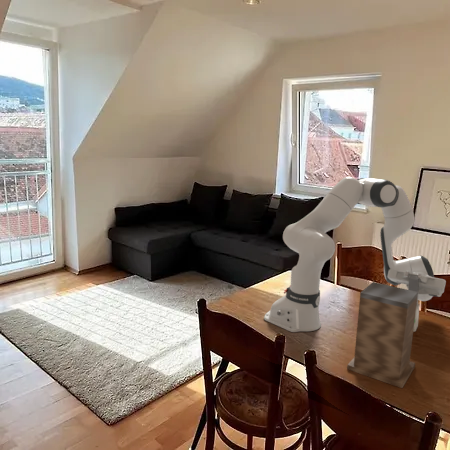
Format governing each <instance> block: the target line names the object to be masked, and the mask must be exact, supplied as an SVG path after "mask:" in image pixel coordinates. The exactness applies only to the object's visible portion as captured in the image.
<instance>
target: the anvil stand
mask: <svg viewBox="0 0 450 450" xmlns="http://www.w3.org/2000/svg"><path fill="white" fill-rule="evenodd" d="M417 297H418V292H416V291H411V290H408V288H406V289H405V288H402V287H399V286H398V287H397V286H394V285H393V286H392V285H389V284H383V283H379V282H376V281H375V282H374V281H372V282H371V283H370V284H369V285H368V286H366V287H365V288H364V289H363V290H361V292H360V295H359V303H358V306H359V307H358V314H357V324H356V325H357V326H356V337H355V347H354V357H353V358H352V359H351V360H350V361H349V363H348V364H347V367H346V369H347V370H349V371H352V372H354V373H357V374H360V375H363V376H366V377H369V378H371V379H375V380H378V381H380V382H383V383H386V384H388V385H389V384H390V385H391V386H395V387H398V388H401V389H403V388H404V386H405V385H406V382H407V381H408V379H409V378H410V377H411V374H412V372H413V371H414V369H415V368H416V362H414V361H411V352H412V344H413V336H414V335H413V334H414V331H413V329H414V321H415V313H416V305H417Z"/></svg>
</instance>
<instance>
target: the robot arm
mask: <svg viewBox="0 0 450 450" xmlns="http://www.w3.org/2000/svg"><path fill="white" fill-rule="evenodd" d="M357 205H363V206H366V207H372V208H373V207H374V208H380V209H381V211H382V214H383V218H384V225H383V226H382V227H381V229H380V235H379V236H380V245H381V251H382V260H383V274H384V278H385V280H386V282H387V283H388V284H390V285H391V286H392V285H393V286H394V287H397V286H398V285H399V286H400V285H406V289H407V290H408V289H409V278H410V276H411V275H412V276H417V277H418V280H419V291H418V301H421V302H426V301H430V300H432V298H433V297H438V298H439V297H442V294H443V293H444V292H445V288H446V283H447V281H446V279H443V278H438V277H435V275H434V271H433V267H432V265H431V263H430V261H429V259H428V258H426V257H425V256H423V255H416V256H412V257H408V258H404V259H399V260H394V255H393V247H392V245H393V243H394V242H395V241H396V240H398V238H400V237H402V236H403V235H405V234H406V233H407V232H409V231H410V230H411V229H412V227H413V226H414V223H415V213H414V209H413V207H412V204H411V202H410V199H409V197H408V195H407V192H406V191H405V190H404V188H403V187H402V186H400V185H395V184H394V182H393V181H391V180H388V179H380V178H375V177H361V178H360V177H359V178H355V177H352V176H345V177H343V178H341V180H339V181H338V182H337V183H336V184H335V185H334V186H333V187H332V188H331V189H330V190H329V191H328V193H326V195H325V196H324V198H323V199H322V200H321V201H320V202H319V203H318V205H317V206H316V207H315V208H314V209H313V210H312V211H311V212H309V213H308V214H307V215H305V216H304V217H303V218H301V219H299V220H298V221H297V222H295V223H292V224H289V225H287V226H286V227H285V229H284V231H283V234H282V240H283V242H284V245H286V246H287V248H289V249H290V250H292V251H293V252H295V253H296V254H298V255H299V256H298V261H297V264H296V265H294V266H293V267H292V269H291V270H290V272H291V273H290V285H289V287H286V288H285V289H284V290H283V291H284V292H283V293H284V294H285V295H284V296H282V297H280V298H278V299H277V300H276V301H274V302H273V303H272V304H271V307H270V310H269V311H267V312H266V313H265V314H264V317H263V319H264V321H266V322H269V324H272V325H275V326H277V327H278V328H282V329H284V330H286V331H288V332H291V333H298V332H312V331H317V330H318V329H320V328H321V327H322V323H321V319H320V311H319V309H320V308H319V306H320V301H321V290H320V284H321V283H320V282H321V273H322V269H323V267H324V265H325V263H326V262H327V261H329V260H330V259H331V258H332V257H333V255H334V254H335V251H336V243H335V241H334V239H333V238H332V237H331V236H329V235H328V234H327V232H330V231H331V230H335V229H337V228H338V227H340V226H341V224H343V221H345V219H346V218H347V217H348V215H349V214H350V213H351V212H352V210H353V209H354V207H355V206H357Z"/></svg>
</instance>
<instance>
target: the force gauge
mask: <svg viewBox="0 0 450 450" xmlns="http://www.w3.org/2000/svg"><path fill="white" fill-rule="evenodd" d="M407 290H411V291H416V292H418V291H419V280H418V277H417V276H412V275H411V276H410V278H409V289H408V288H407ZM419 317H420V304H419V300H418V297H417V305H416V313H415V321H414V329H413V332H416V331H417V329H418V327H419Z"/></svg>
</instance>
